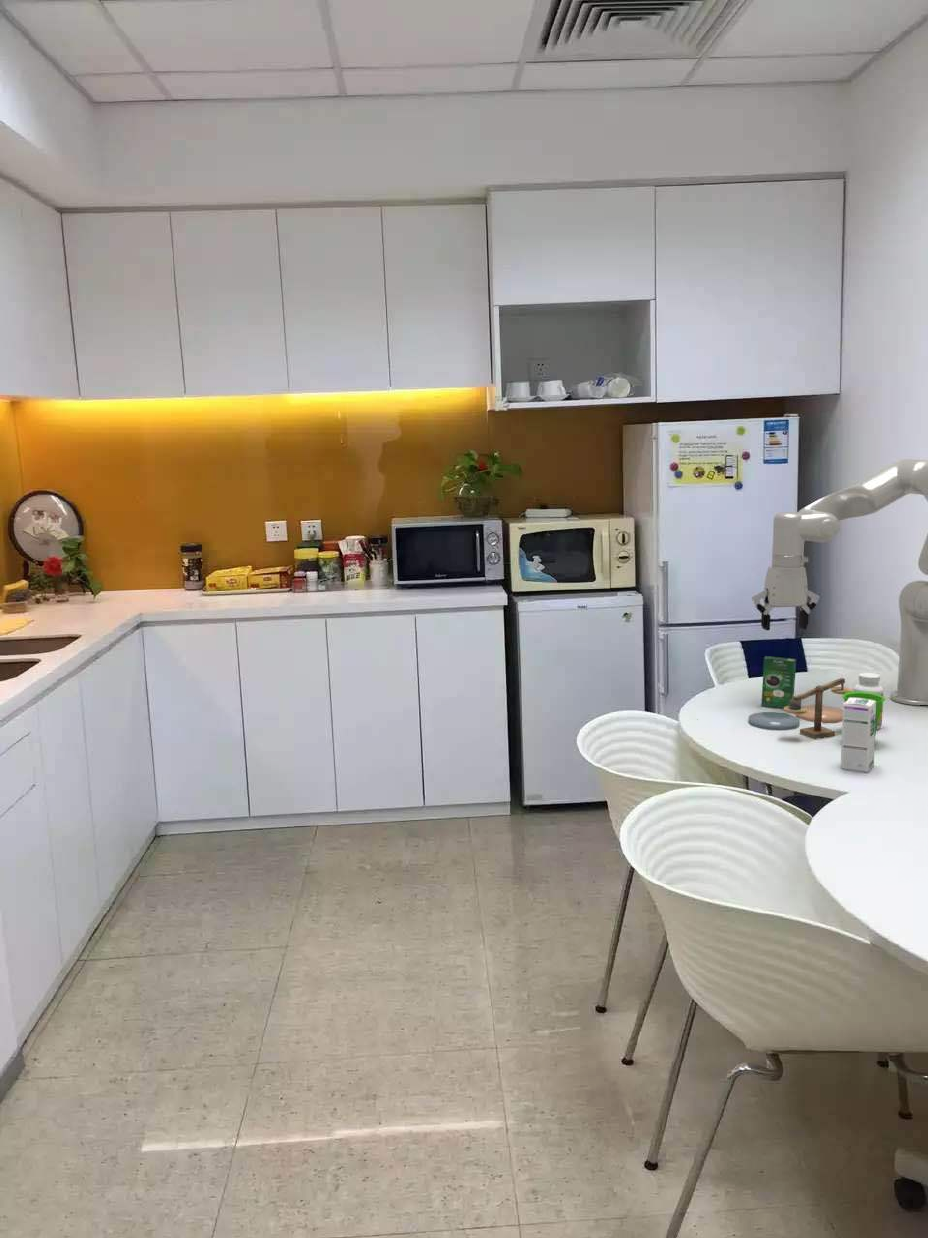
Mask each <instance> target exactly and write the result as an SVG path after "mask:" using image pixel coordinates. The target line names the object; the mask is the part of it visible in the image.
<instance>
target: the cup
mask: <svg viewBox="0 0 928 1238" xmlns="http://www.w3.org/2000/svg"><path fill="white" fill-rule="evenodd" d="M841 697H842V699H844V700H843V703H844V702H845V701H847V700H848V698H849V697H850V698H865V699H871V700H875V701H876V719H875V736H876V734H877V730H878V729H877V726H878V722H879V717H880V713H881V709H882V704H883V705H884V702H885V701H886V698H885V697H884V695H883V696H881V695H878V694H874V693H868V692H849V693H845V694H842V696H841Z"/></svg>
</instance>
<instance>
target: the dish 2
mask: <svg viewBox="0 0 928 1238" xmlns="http://www.w3.org/2000/svg"><path fill="white" fill-rule="evenodd" d="M801 707H804V708H806V713H803V714H795V716H796V717H798V718H799V719H801V720H804V721H809V722H812V723H813V722H814V717H815V704H809V705H801ZM842 717H843V708H839V707H835V706H831V705H830V706H829V705H823V704H822V723H823V724H834V723H835V724H836V723H842ZM822 723H821V724H822Z"/></svg>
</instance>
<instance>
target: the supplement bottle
mask: <svg viewBox="0 0 928 1238" xmlns="http://www.w3.org/2000/svg"><path fill="white" fill-rule="evenodd" d="M858 681H859V682H858V683H857V684H856V685H854V687H853V690H854V692H868V693H874V694H878V695H881V696H883V697H884V689H883V687H882V686H881V685H880V684H879V683H880V681H881V675H879V674H878V673H872V672H863V673H862V672H861V673H859V674H858ZM883 705H884V703H883V704H882V709H881V713H880V717H879V722H878V726H877V730H880V729H881V728H882V727H883V726H882V724H883V707H884V706H883Z"/></svg>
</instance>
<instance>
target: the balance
mask: <svg viewBox="0 0 928 1238" xmlns="http://www.w3.org/2000/svg"><path fill="white" fill-rule="evenodd" d="M845 683H846V678H843V677H841V678H837V679H836V680H835V679H834V680H833V681H830V682H827V683H825V684H823V685H820V684H819V685H816V686H815V688H814V687H813V689H810V690H808V691H804V692H802V693H800V694H797V695H794V697H793V699H790V701H789V706H785V707H784V709H783V712H784V713H786V714H790V715H796V714H803V713H806V708H804V707H801V706H802V700H803V701H804V700H805V699H808V698H810V697H812V696H815V700H814V705H815V717H814V723H813V726H810V727H804V728H800V729H799V734H800V735H802V736H805V737H807V738H809V737H810V738H809V739H812V738H813V739H812V740H814V739H815V740H818V739H817V738H821V739H825V738H824V737H827V738H832V737H835V736H836V731H835V730H832V729H830V728H827V727H825V726H823V725H822V723H821V722H822V705H823V697H824V696H823V695H824V694H823V693H824V692H825V691H828V690H830V692H831V693H833V694H835V695H836V694H837V695H843V694H845V693H849V692H854V688H851V687H847V686H844V685H845Z"/></svg>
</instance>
